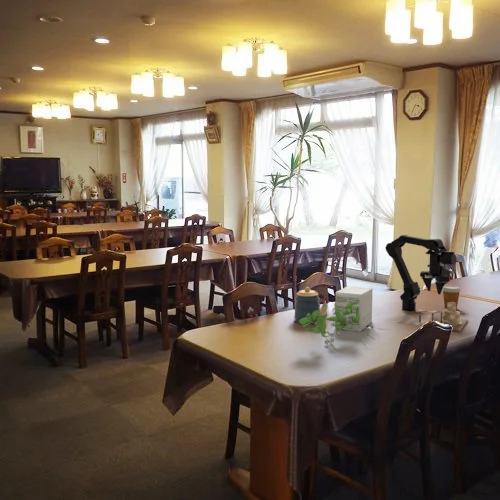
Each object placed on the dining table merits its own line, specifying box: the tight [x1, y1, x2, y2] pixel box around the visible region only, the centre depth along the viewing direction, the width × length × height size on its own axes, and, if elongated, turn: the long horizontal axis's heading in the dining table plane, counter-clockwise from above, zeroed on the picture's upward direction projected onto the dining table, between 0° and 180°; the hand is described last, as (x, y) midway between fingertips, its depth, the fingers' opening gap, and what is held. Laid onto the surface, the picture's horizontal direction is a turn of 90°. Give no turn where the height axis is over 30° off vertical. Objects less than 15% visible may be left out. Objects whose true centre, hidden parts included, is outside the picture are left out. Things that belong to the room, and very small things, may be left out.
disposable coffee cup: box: [442, 285, 461, 310], centre depth 298 cm, size 10×10×12 cm
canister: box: [293, 286, 321, 323], centre depth 273 cm, size 13×13×18 cm
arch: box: [442, 302, 461, 324], centre depth 266 cm, size 4×8×10 cm, turn 14°
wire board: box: [396, 309, 469, 333], centre depth 268 cm, size 30×22×7 cm
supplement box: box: [334, 285, 373, 333], centre depth 263 cm, size 17×13×18 cm
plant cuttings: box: [297, 302, 375, 355], centre depth 229 cm, size 35×17×22 cm
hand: (434, 292), depth 283 cm, fingers open, 9 cm apart
